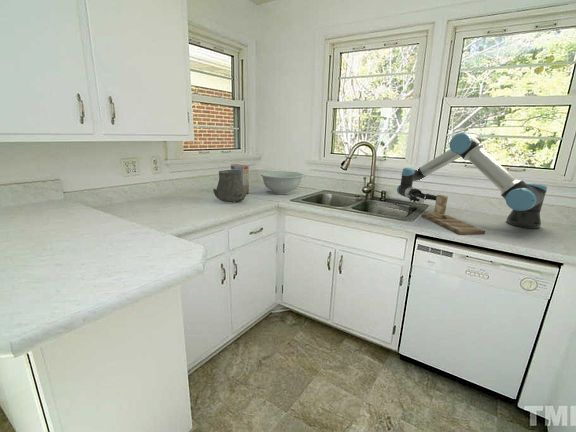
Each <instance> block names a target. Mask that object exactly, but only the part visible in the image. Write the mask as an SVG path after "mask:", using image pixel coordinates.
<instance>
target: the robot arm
mask: <svg viewBox="0 0 576 432" xmlns="http://www.w3.org/2000/svg"><path fill="white" fill-rule="evenodd" d="M483 147H484V144H483V143H482V138H481V137H480V135H478V134H477V133H474V132H466V131H463V132H459V133H456V134H455V135H453V136H452V137H451V139H450V141H449V149H447V150H446V151H445V152H443V153H441V154H440V155H438V156H436V157H435V158H433V159H431V160H430V161H427V163H425V164H423V165H422V166H420V167H418V168H419V169H418V168H417V169H418V171H417V170H416V169H415V168H414V167H403V168H402V171H401V178H400V180H401V181H400V185H398V186H397V188H396V193H397V194H398V195H399V196H402V197H404V198H408V199H409V201H411V202H413V203H420V204H421V205H424V201H425V200H431V201H435V202H436V198H437V195H435V194H431V193H423V192H422V191H421V189H418V188H415V187H413V184H414V183H413V182H416V181H418V180H419V181H421V180H420V179H422V178H424V177H425V178H426V177H427V176H429V175H431V174H433V173H435V172H436V171H438V170H439V169H441V168H443V167H445V166H447V165H448V164H450V163H452V162H455V161H456V160H458V159H459V158H461V159H463V160H464V161H469V162H470V163H471V165H473V166H474V167H475V168H476V169H478V170H479V171H480V172H481V173H482V174H483V176H485V177H486V178H487V179H488V180H489V181H490V182H491V183H492V184H493V185H494V186H495V187H496V188H497V189H498V190H499V191H500V196H501V197H502V198H503V199H504V200H505V203H506V205H507V206H508V208H509V209H511V212H510V213H509V214H508V216H507V218H506V220H505V222H506V223H507V224H509V225H512V226H514V227H515V226H516V227H520V228H526V229H533V230H534V229H536V230H537V229H540V228H541V226H542V220H541V210H542V206H543V203H544V200H545V197H546V194H547V191H548V190H547V189H548V187H547V185H545V184H535V183H532V182H531V183H530V182H525V181H524V180H522V179H517V178H516V177H514V176H513V175H512V174H511V173H510V172H509V171H508V170H506V169H505V167H503V166H502V165H501V164H500V163H499V162H498V161H497V160H496V159H494V158H493V156H491V155H490V154H489V153H488V152H487V151H486V150H485V149H483ZM434 171H435V172H434ZM432 172H433V173H432ZM425 178H424V179H425ZM422 180H423V179H422ZM419 181H418V182H419Z"/></svg>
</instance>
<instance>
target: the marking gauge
mask: <svg viewBox="0 0 576 432" xmlns="http://www.w3.org/2000/svg"><path fill="white" fill-rule="evenodd" d="M436 196H437V198H436V201H435V204H434V208H433V209H434V210H430V212H429V213H430V214H431V215H433V216H435V217H438V218H448V216H449V214H448V213H446V211H447V210H446V209H447V205H448V199H449V196H448V195H444V194H437V195H436Z"/></svg>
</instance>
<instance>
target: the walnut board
mask: <svg viewBox="0 0 576 432" xmlns="http://www.w3.org/2000/svg"><path fill="white" fill-rule="evenodd" d="M420 215H421V216H420V217H422V218H424V219H427V220H428V221H429V222H430V221H431V222H433V223H434V224H437V225H439V226H441V227H443V228H444V229H447V230H449V231H451V232H452V233H455V234H458V235H462V236H463V235H485V234H486V230H484V229H482V228H480V227H477V226H474V225H473V224H470V223H467V222H465V221H462V220H460V219H458V218H456V217H453V216H450V215H448V218H438V217H435V216H433V215H431V214H430V212H427V213H426V212H423V213H421V214H420Z"/></svg>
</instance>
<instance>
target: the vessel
mask: <svg viewBox="0 0 576 432" xmlns="http://www.w3.org/2000/svg"><path fill="white" fill-rule="evenodd" d="M241 174H242V171H240V170H231V169H225V170H218V181H217V186H216V188H213V189H212V190H213V194H214V196H215V197H216V199H218V200H219V201H222V202H225V203H238V202H242V201H244V200H245V199H246V195H247V194H245V190H244V187H243V184H242V179H241Z"/></svg>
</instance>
